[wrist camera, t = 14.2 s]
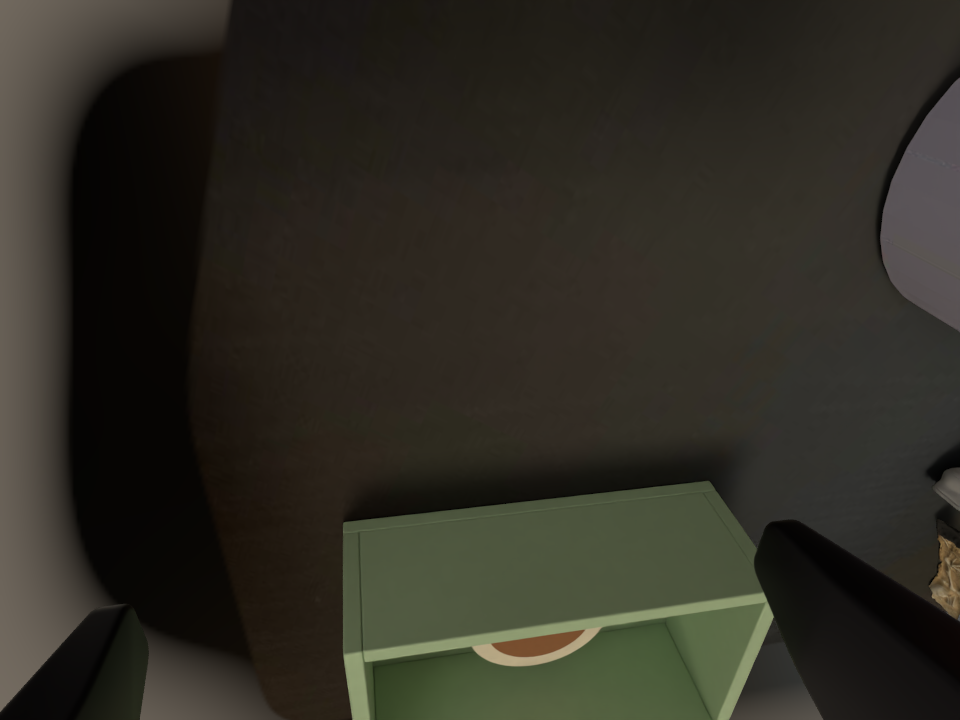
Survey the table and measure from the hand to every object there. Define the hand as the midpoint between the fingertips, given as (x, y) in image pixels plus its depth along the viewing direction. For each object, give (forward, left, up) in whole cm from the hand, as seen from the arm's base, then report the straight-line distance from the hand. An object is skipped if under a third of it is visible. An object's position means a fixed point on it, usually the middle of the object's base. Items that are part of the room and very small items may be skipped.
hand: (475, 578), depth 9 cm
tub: (+10, -13, -12) cm, 20 cm away
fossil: (+30, -8, -13) cm, 34 cm away
